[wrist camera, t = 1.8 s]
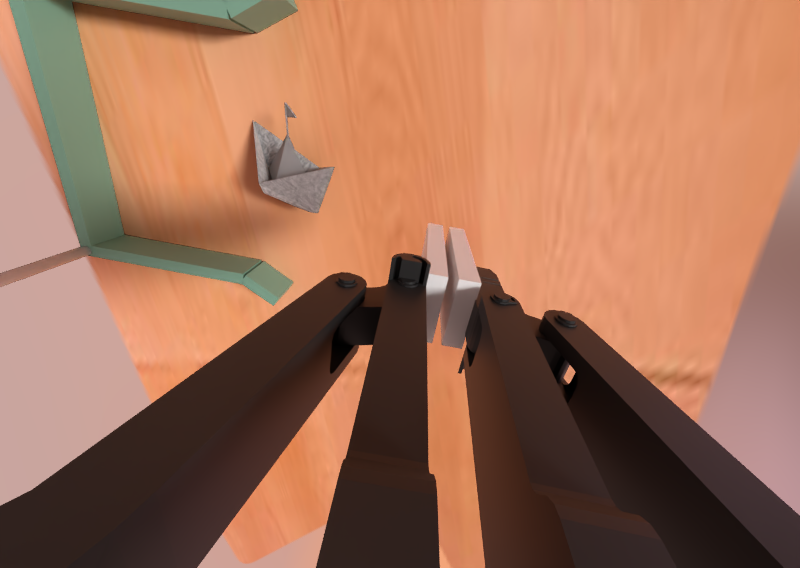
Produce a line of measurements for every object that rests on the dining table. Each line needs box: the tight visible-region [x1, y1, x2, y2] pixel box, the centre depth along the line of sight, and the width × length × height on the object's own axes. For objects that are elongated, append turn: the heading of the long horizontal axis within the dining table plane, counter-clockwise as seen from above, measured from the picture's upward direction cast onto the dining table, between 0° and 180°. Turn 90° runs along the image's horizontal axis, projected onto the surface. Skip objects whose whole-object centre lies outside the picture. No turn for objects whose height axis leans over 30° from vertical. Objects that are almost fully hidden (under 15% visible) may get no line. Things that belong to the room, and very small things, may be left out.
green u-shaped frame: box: [0, 0, 298, 306], centre depth 22 cm, size 21×27×22 cm
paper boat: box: [253, 102, 334, 213], centre depth 29 cm, size 12×6×9 cm
